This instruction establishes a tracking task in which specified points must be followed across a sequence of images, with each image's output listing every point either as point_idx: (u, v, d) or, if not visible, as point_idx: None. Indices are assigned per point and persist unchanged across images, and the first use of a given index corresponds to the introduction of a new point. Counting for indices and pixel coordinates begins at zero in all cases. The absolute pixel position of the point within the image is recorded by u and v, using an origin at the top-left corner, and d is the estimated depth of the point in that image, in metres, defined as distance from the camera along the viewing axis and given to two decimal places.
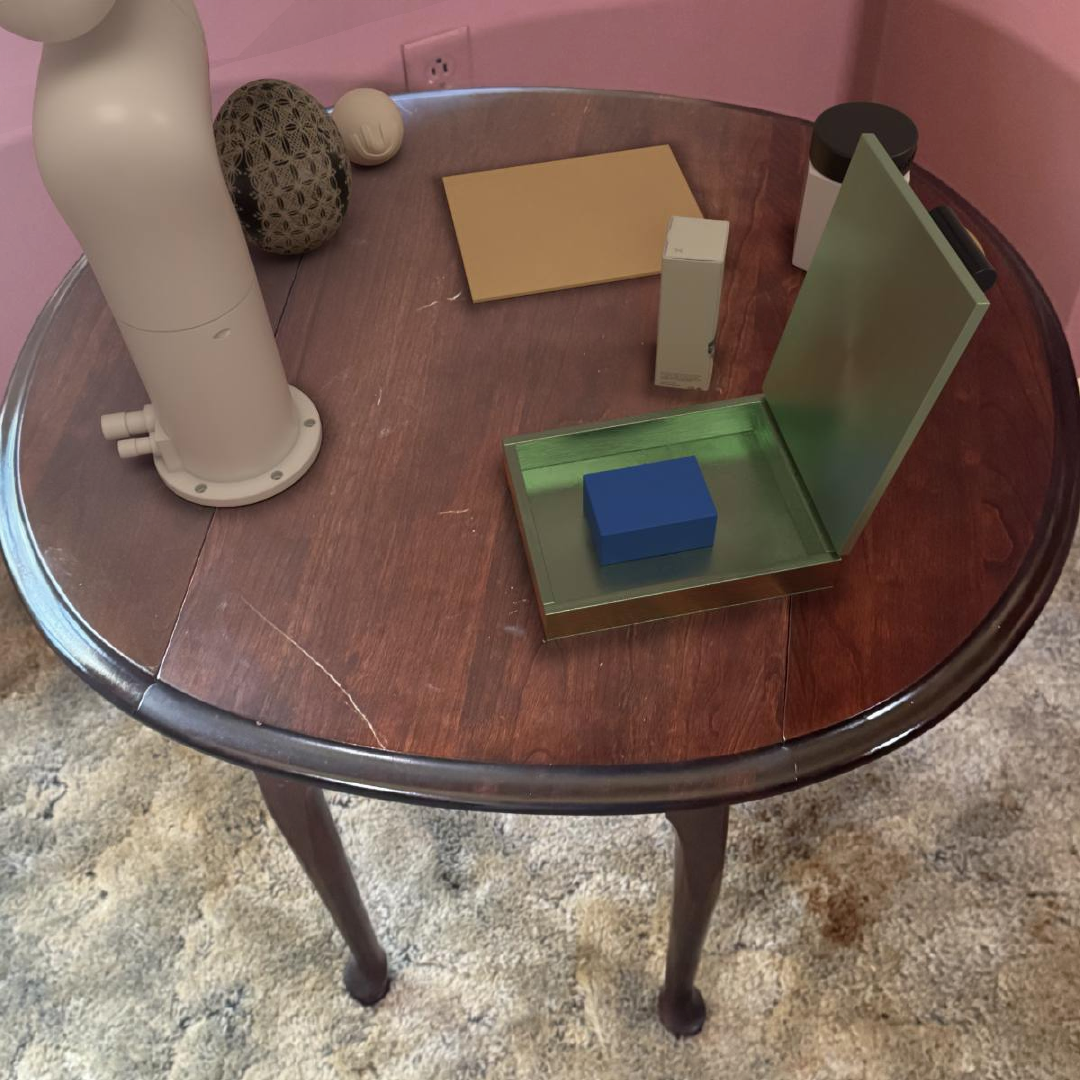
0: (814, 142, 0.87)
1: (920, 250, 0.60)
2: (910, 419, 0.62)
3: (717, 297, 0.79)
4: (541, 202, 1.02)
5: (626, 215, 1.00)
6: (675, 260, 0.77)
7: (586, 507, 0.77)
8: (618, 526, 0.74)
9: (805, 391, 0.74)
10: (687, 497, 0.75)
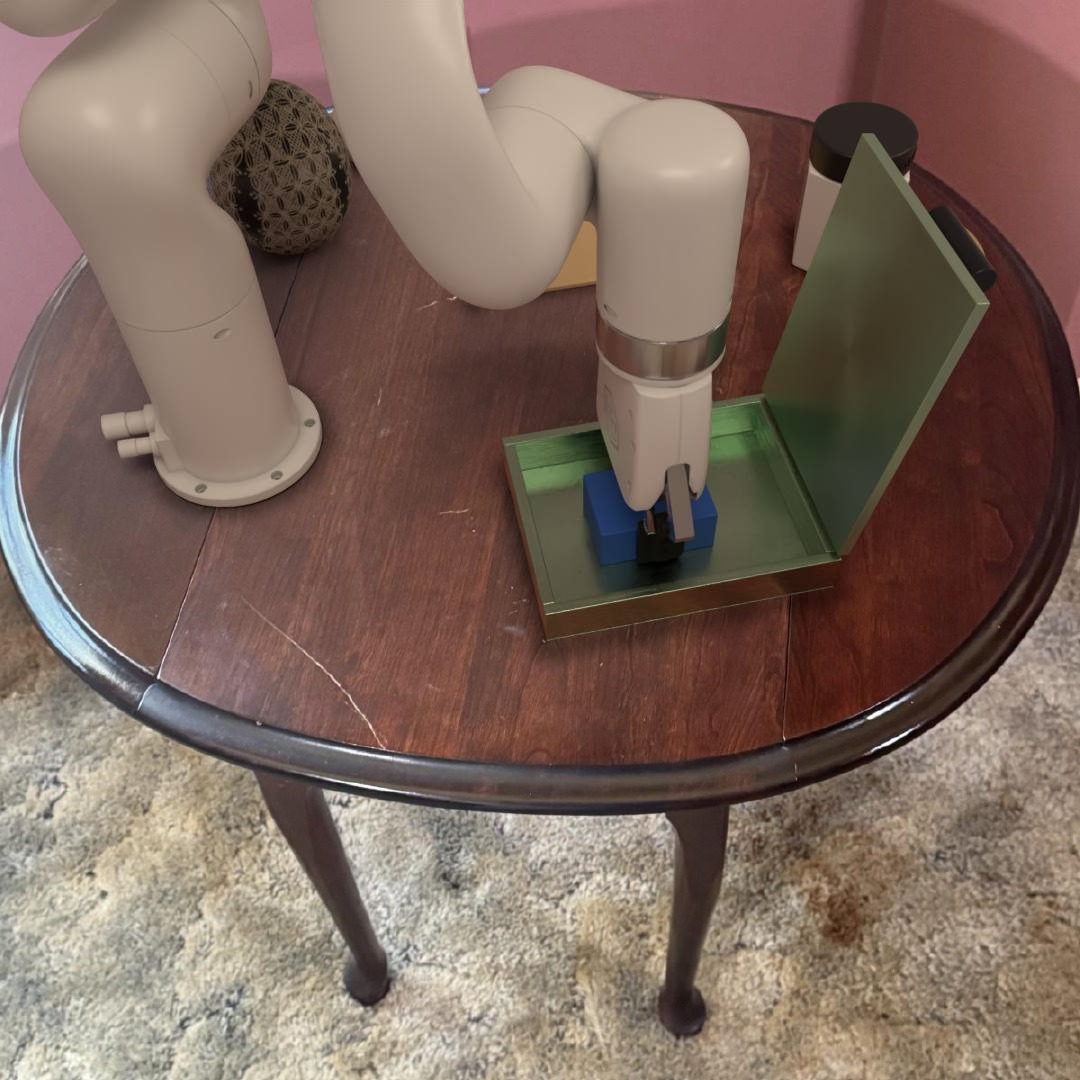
0: (814, 142, 0.87)
1: (920, 250, 0.60)
2: (910, 419, 0.62)
3: None
4: None
5: None
6: None
7: (586, 507, 0.77)
8: (618, 526, 0.73)
9: (805, 391, 0.74)
10: None
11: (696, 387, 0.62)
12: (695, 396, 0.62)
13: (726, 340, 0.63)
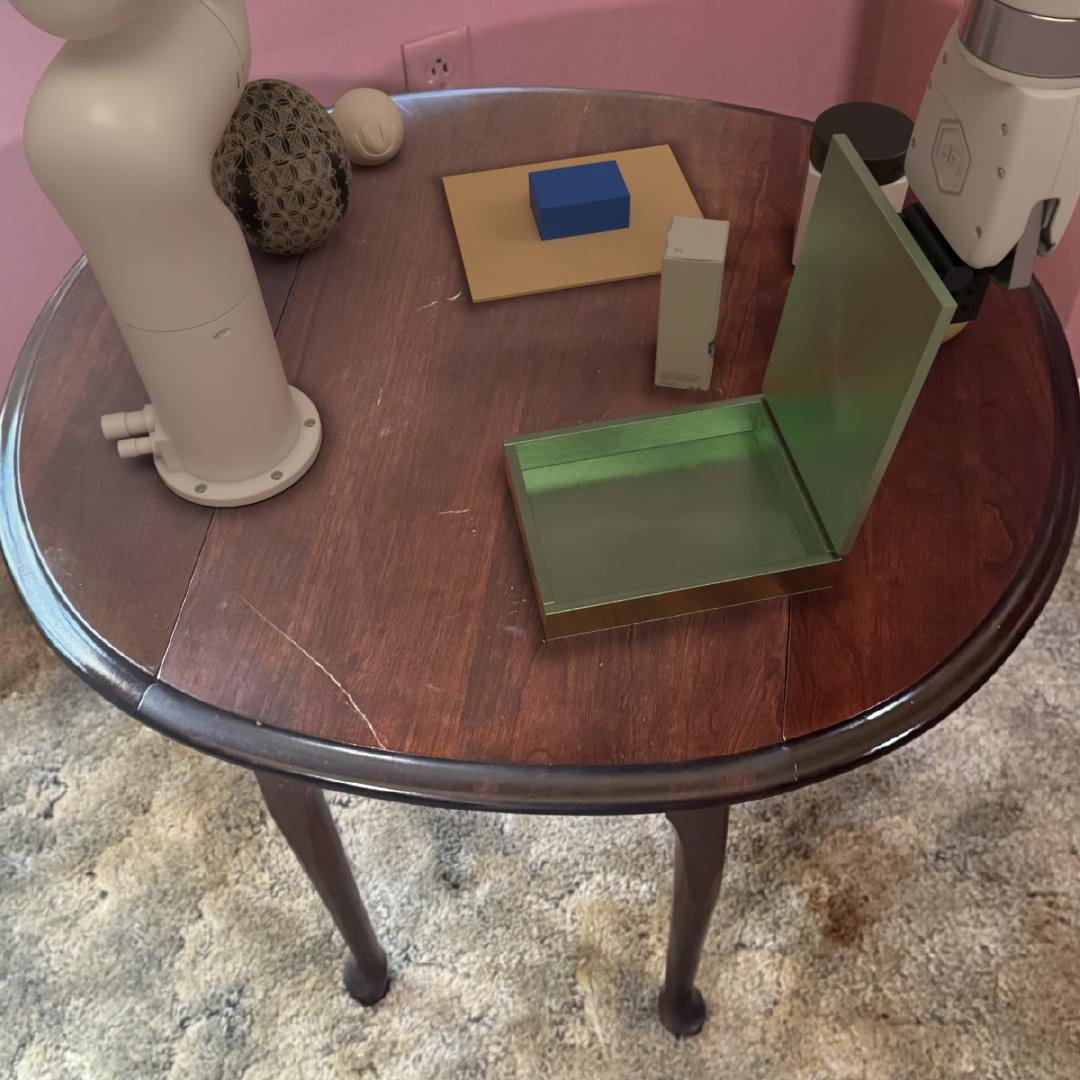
0: (814, 142, 0.87)
1: (890, 252, 0.60)
2: (892, 421, 0.62)
3: (717, 297, 0.79)
4: None
5: None
6: (675, 260, 0.77)
7: (531, 200, 1.00)
8: (553, 203, 0.96)
9: (799, 392, 0.74)
10: (607, 185, 0.97)
11: None
12: None
13: None
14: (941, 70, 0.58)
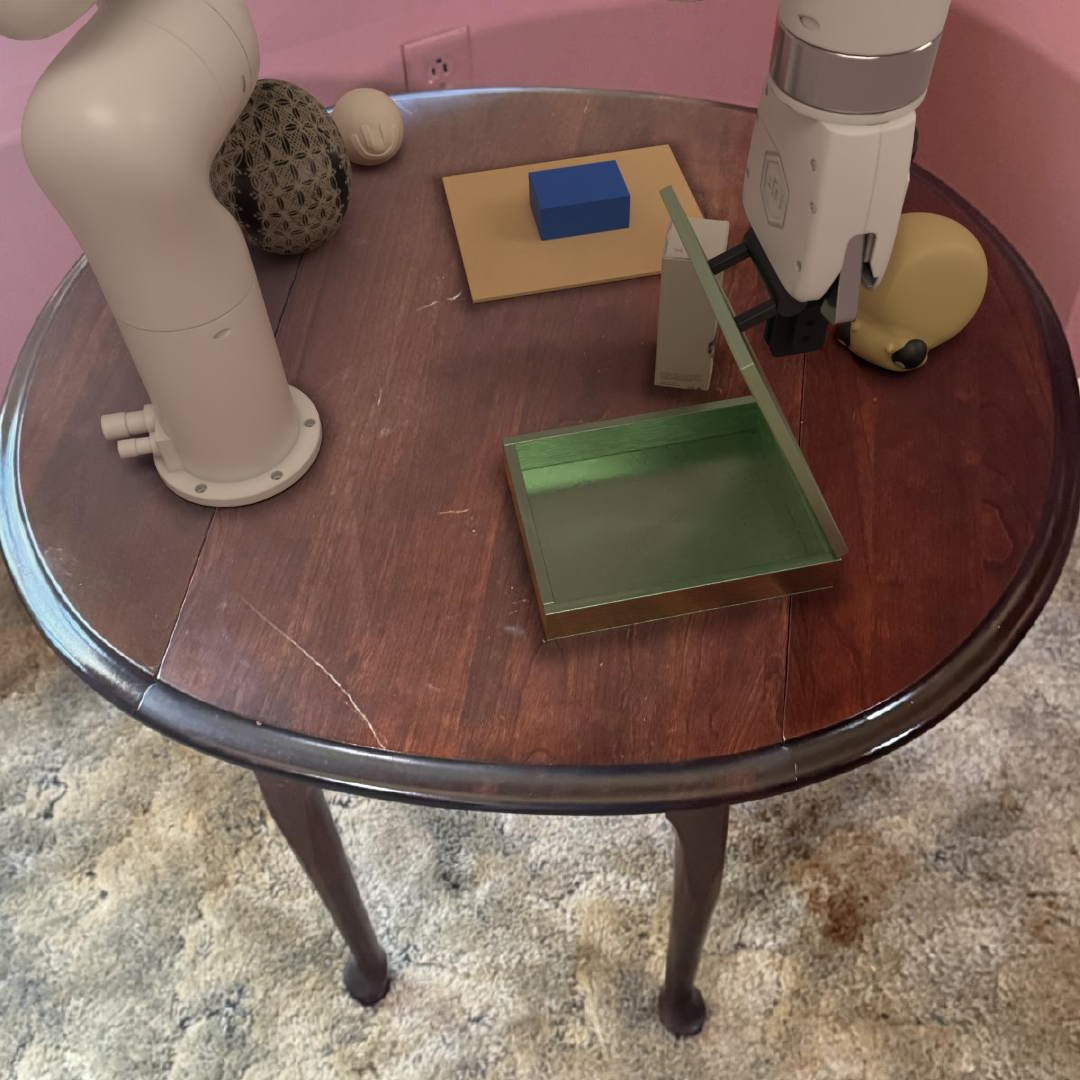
0: None
1: None
2: (784, 455, 0.62)
3: None
4: None
5: None
6: (675, 260, 0.77)
7: (531, 200, 1.00)
8: (553, 203, 0.96)
9: None
10: (607, 185, 0.97)
11: (899, 125, 0.51)
12: (897, 137, 0.51)
13: None
14: (764, 101, 0.57)
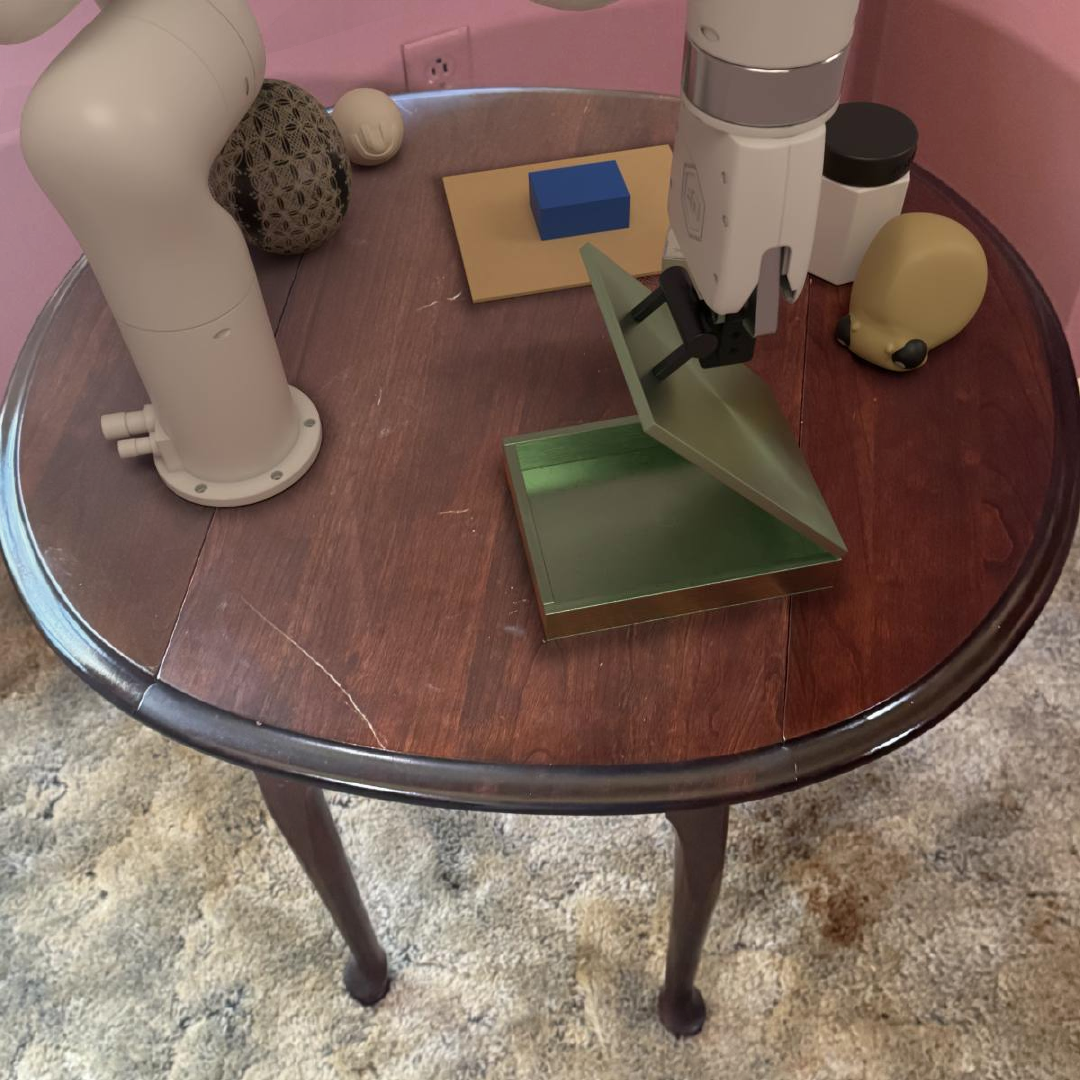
0: None
1: None
2: (731, 487, 0.64)
3: None
4: None
5: None
6: (675, 260, 0.77)
7: (531, 200, 1.00)
8: (553, 203, 0.96)
9: None
10: (607, 185, 0.97)
11: (807, 138, 0.51)
12: (806, 150, 0.51)
13: None
14: (682, 113, 0.57)
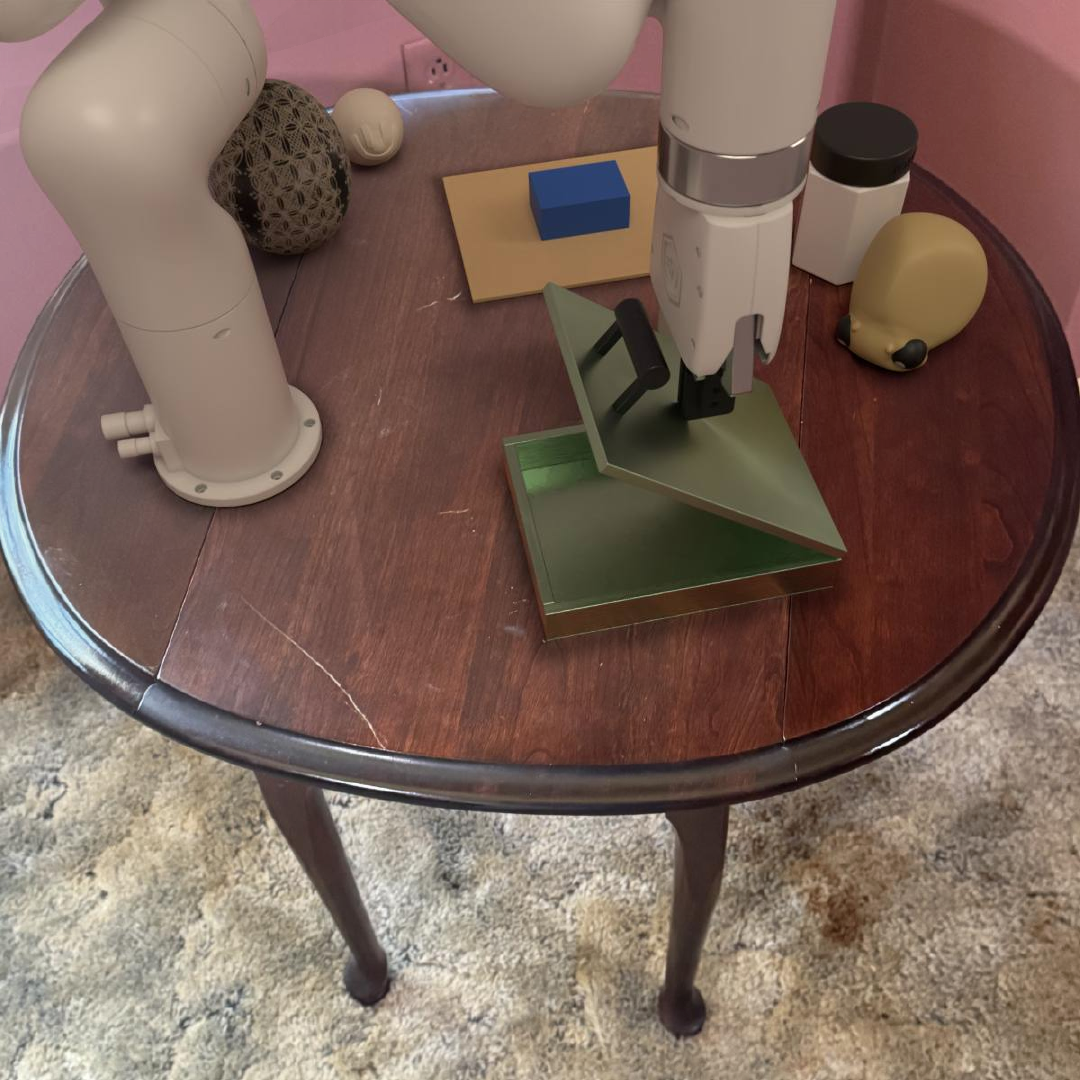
0: (814, 142, 0.87)
1: None
2: (705, 509, 0.65)
3: None
4: None
5: None
6: None
7: (531, 200, 1.00)
8: (553, 203, 0.96)
9: None
10: (607, 185, 0.97)
11: (775, 216, 0.54)
12: (774, 227, 0.54)
13: (808, 165, 0.55)
14: (660, 186, 0.60)
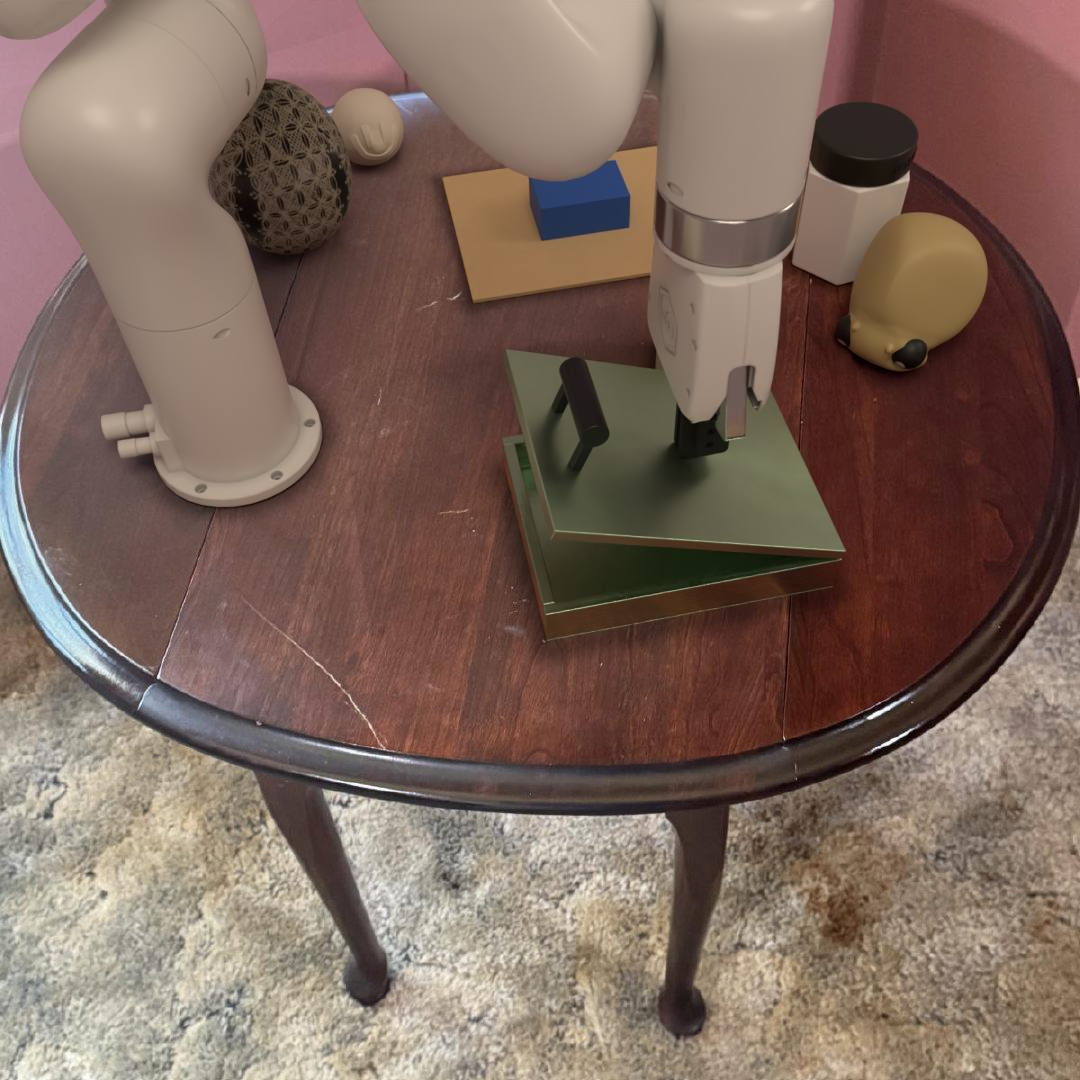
0: (814, 142, 0.87)
1: None
2: (675, 545, 0.67)
3: None
4: None
5: None
6: None
7: (531, 200, 1.00)
8: (553, 203, 0.96)
9: None
10: (607, 185, 0.97)
11: (766, 275, 0.56)
12: (765, 286, 0.57)
13: (797, 225, 0.57)
14: None
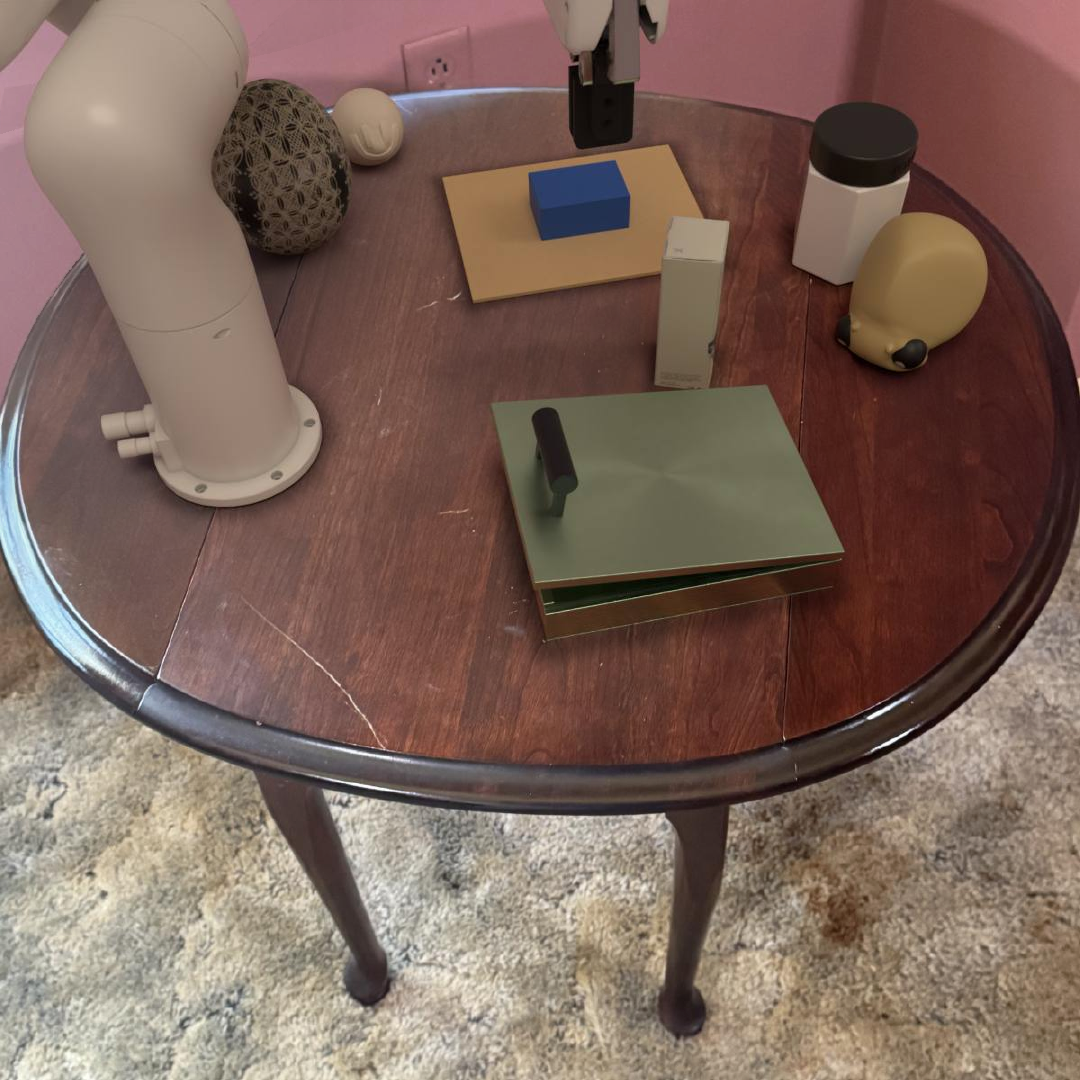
0: (814, 142, 0.87)
1: None
2: (662, 574, 0.69)
3: (717, 297, 0.79)
4: None
5: None
6: (675, 260, 0.77)
7: (531, 200, 1.00)
8: (553, 203, 0.96)
9: None
10: (607, 185, 0.97)
11: None
12: None
13: None
14: None
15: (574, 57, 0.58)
